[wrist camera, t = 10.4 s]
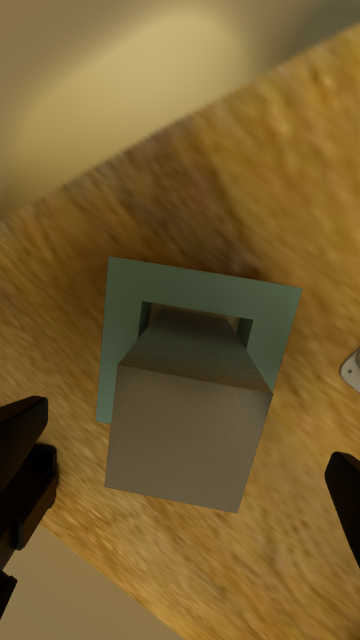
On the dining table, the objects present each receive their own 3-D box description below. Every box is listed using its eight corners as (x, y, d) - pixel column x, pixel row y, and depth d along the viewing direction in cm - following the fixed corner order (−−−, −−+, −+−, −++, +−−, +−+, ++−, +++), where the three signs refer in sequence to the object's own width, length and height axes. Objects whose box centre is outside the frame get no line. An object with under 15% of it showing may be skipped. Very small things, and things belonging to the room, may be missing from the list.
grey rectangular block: (154, 367, 16) (104, 486, 7) (162, 308, 15) (117, 364, 6) (214, 378, 16) (237, 513, 7) (227, 319, 15) (273, 394, 6)
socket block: (117, 387, 18) (95, 421, 14) (130, 259, 15) (108, 256, 12) (242, 410, 17) (255, 450, 14) (275, 282, 15) (302, 288, 11)
